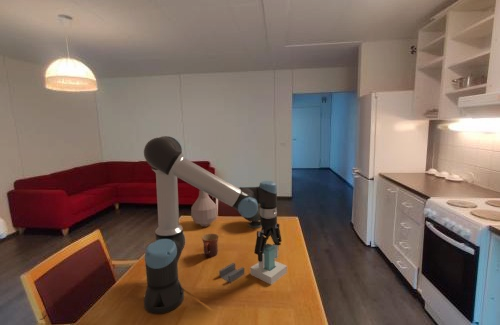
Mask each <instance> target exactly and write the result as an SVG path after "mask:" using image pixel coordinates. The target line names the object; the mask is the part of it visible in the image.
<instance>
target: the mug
mask: <svg viewBox="0 0 500 325" xmlns="http://www.w3.org/2000/svg"><path fill="white" fill-rule="evenodd" d="M201 240H202V243H203V254H204V257H206V258H209V259H211V258H214V257H216V256H218V252H219V248H218V247H219V246H218V240H219V235H218V234H216V233H206V234H204V235H203V236H202V237H201Z"/></svg>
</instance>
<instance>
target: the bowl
mask: <svg viewBox="0 0 500 325" xmlns="http://www.w3.org/2000/svg"><path fill="white" fill-rule="evenodd" d="M243 218H244V219H245V220H246V221H248V224H247V226H248V227H249V228H252V229H259V228H260V229H261V228H262V226H261V224H260V204H258V211H257V213H256V214H255V215H254V216H253V217H250V218H246V217H243Z"/></svg>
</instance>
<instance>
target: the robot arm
mask: <svg viewBox="0 0 500 325" xmlns="http://www.w3.org/2000/svg"><path fill="white" fill-rule="evenodd" d="M143 157H144V159H145V161H146V162H147V164H148V165H149V166H150V167H151V170H152V171H153V172H154V173H155V179H156V180H155V181H156V183H155V184H156V200H157V201H156V203H157V221H158V223H157V224H158V227H157V228H155V231H154V232H155V233H154V235H155V240H154V241H153V242H151V243H150V244H149V245H148V244H147V246H146V248H145V250H144V262H145V263H144V264H145V275H146V282H147V283H146V284H147V287H146V288H145V289H146V290H145V293H144V297H143V307H144V309H145V311H147V312H148V313H150V314H153V315H162V314H166V313H169V312H171V311H173V310H176V309H177V308H178V307H179V306H181V304H182V303H183V301H184V298H185V293H184V288H183V286H182V284H181V282H180V279H179V269H178V268H179V267H178V263H179V260H180V258H181V255H182V253H183V251H184V248H185V245H186V237H185V234H184V228H183V226H182V225H181V224H180V214H179V213H180V212H179V191H178V190H179V188H178V184H179V183H178V179H180V180H182V181H184V182H186V183H187V184H189V185H191V186H192V187H195V188H197V189H198V190H199V191H200V190H202V191H204V192H205V193H207V194H208V195H210V196H211V197H213V198H214V199H216V200H219V201H220V202H222V203H224V204H225V205H227V206H229V207H231V208H233V209H235V210H236V211H238V213H239V214H240V215H241V216H242V218H244V217H246V218H250V217H253V216H254V215H255V214H256V213H257V211H258V204H260V224H261V226H262V227H261V228H260V231H259V230H257V231H256V240H255V246H254V254H255V255H257V261H258V262H259V267H261V268H264V254H263V252H264V248H265V245H266V244H267V241H268V240H269V238H270V237H271V240H272V242H273V243H272V245H273V246H275V260H278V259H279V246H281V245H282V244H281V243H282V235H281V231H280V223H278V217H277V216H278V215H277V214H278V210H277V209H278V208H277V207H278V206H277V204H278V199H277V198H278V197H277V196H278V191H277V188H278V187H277V183H276V182H275V181H272V180H264V181H260V182H259V186H245V187H244V186H240V187H238V186H235V185H233V184H232V183H230V182H228V181H227V180H224V179H223V178H221V177H219V176H217V175H216V174H213V173H212V172H210V171H208V170H207V169H205V168H203V167H201V166H200V165H198V164H196V163H194V162H193V161H191V160H189V159H187V158H185V157H184V154H183V148H182V145H181V143H180V141H179V140H178V139H176V138H175V137H173V136H168V135H167V136H166V135H164V136H163V135H162V136H160V137H155V138H152V139H150V140H149V141H148V142H146V144H145V146H144V149H143Z"/></svg>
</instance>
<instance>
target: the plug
mask: <svg viewBox="0 0 500 325" xmlns="http://www.w3.org/2000/svg"><path fill="white" fill-rule="evenodd" d="M263 254H264V269H266V270H268V271H271V270H272V269H274V268H275V261H276V258H275V246H273V244H271V243H267V242H266V245H265V248H264V252H263Z"/></svg>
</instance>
